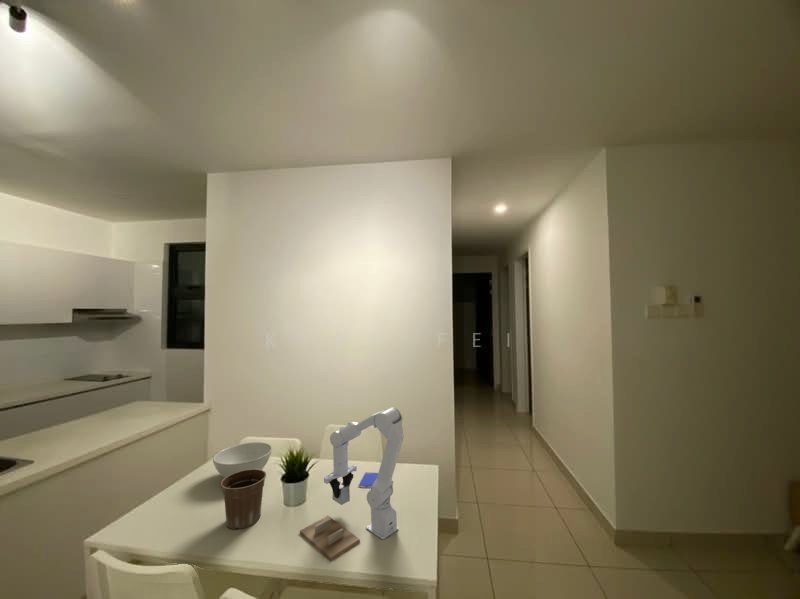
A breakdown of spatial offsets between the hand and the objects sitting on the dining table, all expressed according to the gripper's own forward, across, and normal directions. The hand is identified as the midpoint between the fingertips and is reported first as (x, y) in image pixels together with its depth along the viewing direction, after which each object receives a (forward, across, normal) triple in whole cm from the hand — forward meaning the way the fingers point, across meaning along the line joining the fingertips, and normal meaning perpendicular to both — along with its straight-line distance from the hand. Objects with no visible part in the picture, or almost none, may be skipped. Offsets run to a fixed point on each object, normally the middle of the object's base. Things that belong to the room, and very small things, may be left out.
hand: (341, 494), depth 131 cm
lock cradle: (+8, +11, +8) cm, 16 cm away
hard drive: (+8, -25, -12) cm, 29 cm away
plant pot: (+8, +28, -26) cm, 39 cm away
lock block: (+2, 0, 0) cm, 2 cm away
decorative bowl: (+8, +15, -63) cm, 65 cm away
